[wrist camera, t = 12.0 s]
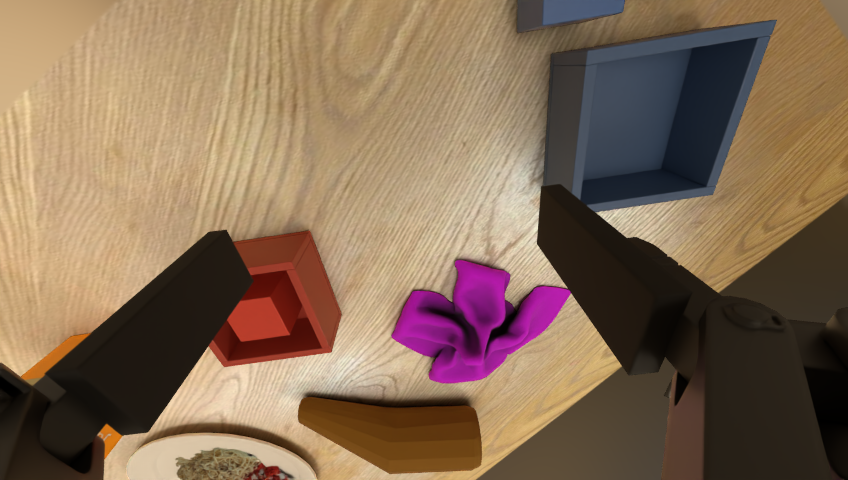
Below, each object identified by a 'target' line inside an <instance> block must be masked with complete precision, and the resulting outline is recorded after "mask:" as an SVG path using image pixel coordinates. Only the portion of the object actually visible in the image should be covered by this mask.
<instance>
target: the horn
mask: <svg viewBox="0 0 848 480" xmlns="http://www.w3.org/2000/svg"><path fill="white" fill-rule="evenodd" d="M298 420H299V422H300V423H301V424H303V425H304V426H306V427H308V428H310V429H312V430H313V431H315V432H317V433H319V434H320V435H322V436H324V437H326V438H327V439H329V440H331V441H333V442H334V443H336V444H338V445H340V446H342V447H343V448H345V449H347V450H349V451H350V452H352V453H354V454H356V455H357V456H359V457H361V458H363V459H365V460H366V461H368V462H370V463H372V464H373V465H375V466H377V467H379V468H380V469H382V470H384V471H386V472H387V473H389V474H399V473H422V472H445V471H468V470H473V469H475V468H477V467H479V466H480V465H481V460H482V446H481V434H480V427H479V422H478V417H477V414H476V411H475V409H474V408H472V407H469V406H438V407H407V408H392V407H380V406H373V405H366V404H359V403H351V402H344V401H337V400H330V399H323V398H316V397H306V398H303V399H302V400H301V403H300V405H299V409H298Z"/></svg>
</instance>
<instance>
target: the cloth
mask: <svg viewBox="0 0 848 480" xmlns="http://www.w3.org/2000/svg"><path fill="white" fill-rule="evenodd" d="M455 267H456V268H457V270H458V279H457V282H456V286H455V289H454V292H453V303H452V302H450V301H448V300H447V299H446V298H445V297H444V296H443V295H441V294H439V293H435V292H431V291H413V292H412V294H411V296H410V297H409V299H408V301H407V302H406V304H405V306H404V308H403V311H402V314H401V316H400V318H399V320H398V322H397V325H396V327H395V330H394V332H393V334H392V335H391V336H392V338H393V339H395V340H396V341H397V342H399V343H401V344H403V345H404V346H406V347H408V348H410V349H412V350H414V351H416V352H418V353H420V354H422V355H425V356H429V357H435V358H436V360H435V362H434V363H433V364H432V369H431V371H430V372H429V379H430V380H433V381H436V382H440V383H459V382H468V381H475V380H480V379H483V378H485V377H487V376H488V375H489V374H490V373H491V372H493V371H494V370H495V369H496V368H498V367H499V366H500V365H501V364H502V363H503V362H504V360H505V359H506V357H507V354H511V353H513V352H514V351H516V350H518V349H519V348H521V347H522V346H523V345H525V344H526V343H528V342H529V341H531V340H532V339H534V338H536V337H537V336H538V335H540V334H541V333H542V332H543V331H544V330H545V329H546V328H547V327H548V326H549V325H550V324H551V323H552V321H553V320H554V319H555V317H556V316H557V314H558V313H559V311H560V310H561V308H562V306H563V305H564V303H565V302H566V300H567V298H568V297H569V295H570V294H571V292H570V290H569V289H563V288H558V287H548V286H541V287H536V288H535V289H534V291H533V292H532V293H531V294H530V295H529V296H528V297H527V298H526V299H525V300H524V301H523V302H522V303H521V305H520V308H519V310H518V312H517V313H516V312H515V310H514V308H513V305H512V304H511V303H509V302H507V301H505V296H504V293H505V291H506V288H507V286H508V283H509V281H510V274H509V273H506V272H505V271H503V270H497V269H493V268H489V267H486V266H482V265H478V264H475V263H471V262H468V261H463V260H457V261H456V262H455Z"/></svg>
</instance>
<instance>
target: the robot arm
mask: <svg viewBox="0 0 848 480" xmlns="http://www.w3.org/2000/svg"><path fill="white" fill-rule="evenodd" d="M537 245H538V246H539V247H540V249H541V250H542V252H543V253H544V255H545V256H546V257H547V259H548V260H549V262H550V263H551V265H552V266H553V268H554V269H555V270H556V272H557V273H558V275H559V276H560V278H561V279H562V280H563V282H564V283H565V285H566V286H567V288H568V289H569V290H570V292H571V293H572V295H573V296H574V298H575V299H576V301H577V302H578V303H579V305H580V306H581V308H582V309H583V311H584V312H585V313H586V315H587V316H588V318H589V319H590V321H591V322H592V323H593V325H594V326H595V328H596V329H597V331H598V332H599V333H600V335H601V336H602V338H603V339H604V341H605V342H606V344H607V345H608V346H609V348H610V349H611V351H612V352H613V354H614V355H615V356H616V358H617V359H618V361H619V362H620V364H621V365H622V366H623V368H624V369H625V371H626V372H627V374H628V375H637V374H646V373H654V372H658V371H659V369H660V367H661V364H662V362H663V360H664V358H665V357H666V358H667V359H668V361H669V362H670V363H671V364H672V365H673V366H674V367H675V369H676V372H675V374H674V376H673V378H672V380H671V382H670V384H669V386H668V388H667V390H666V392H665V395H664V396H666V397H668V398H669V397H670V404H669V413H668V422H667V431H666V441H665V450H664V459H663V468H662V477H661V480H848V307H846V308H841V309H838V310H837V312H836V313H835V314H834V316H833V317H832V318H831V319H830V321H829V322H828V323H827V324H826V323H816V322H806V321H797V320H787V319H786V318H784V317H783V316H782V315H780V314H779V313H778V312H777V311H775V310H773V309H771V308H769V307H767V306H765V305H763V304H761V303H757V302H754V301H751V300H748V299H745V298H738V297H732V296H721V295H720V294H719V293H717V292H716V291H715V290H713V289H712V288H711V287H709V286H708V285H707V284H705V283H704V282H703V281H701V280H700V279H699V278H697V277H696V276H695V275H693V274H692V273H691V272H689V271H688V270H687V269H685V268H684V267H683V266H681V265H678V263H677V262H676V261H675V260H673V259H672V258H671V257H667V254H666V253H664V252H663V251H662V250H660V249H659V248H658V247H656V246H655V245H653V244H651V243H649V242H646V241H644V240H642V239H639V238H637V237H633V238H626V237H625V236H623V235H622V234H621V233H620V232H619V231H617V230H616V229H615V228H614V227H612V226H611V225H610V224H609V223H608V222H606V221H605V220H604V219H603V218H601V217H600V216H599V215H598V214H597V213H595V212H594V211H593V210H592V209H590V208H589V207H588V206H587V205H586V204H584V203H583V202H582V201H581V200H579V199H578V198H577V197H576V196H575V195H573V194H572V193H571V192H570V191H568V190H567V189H566V188H565V187H564V186H562V185H561V184H555V185H548V186H541V196H540V209H539V223H538V236H537ZM253 282H254V280H253V278H252V276H251V275H250V273H249V271H248V269H247V267H246V265H245V263H244V262H243V260H242V258H241V256H240V254H239V252H238V250H237V249H236V247H235V245H234V243H233V241H232V239H231V237H230V235H229V234H228V232H227V230H221V231H213V232H208V233H207V234H206V235H205V236H204V237H202V238H201V239H200V240H199V241H198V242H197V243H195V244H194V245H193V246H192V247H191V248H190V249H188V250H187V251H186V252H185V253H184V254H183V255H181V256H180V257H179V258H178V259H177V260H176V261H174V262H173V263H172V264H171V265H170V266H169V267H167V268H166V269H165V270H164V271H163V272H162V273H161V274H159V275H158V276H157V277H156V278H155V279H154V280H152V281H151V282H150V283H149V284H148V285H147V286H145V287H144V288H143V289H142V290H141V291H140V292H138V293H137V294H136V295H135V296H134V297H133V298H131V299H130V300H129V301H128V302H127V303H126V304H124V305H123V306H122V307H121V308H120V309H119V310H117V311H116V312H115V313H114V314H113V315H112V316H110V317H109V318H108V319H107V320H106V321H105V322H103V323H102V324H101V325H100V326H99V327H98V328H97V329H95V330H94V331H93V332H92V333H91V334H90V335H88V336H87V337H86V338H85V339H84V340H83V341H81V342H80V343H79V344H78V345H77V346H76V347H74V348H73V349H72V350H71V351H70V352H69V353H67V354H66V355H65V356H64V357H63V358H62V359H60V360H59V361H58V362H57V363H56V364H55V365H53V366H52V367H51V368H50V369H49V370H48V371H46V372H45V373H44V374H45V375H44V376H43V377H42V378H41V379H40V380H38V381H37V382H36V383H35V384H34V385H33V386H32V385H30V384H29V383H28V382H26V381H25V380H24V379H22V378H21V377H20V376H19V375H17V374H16V373H15V372H13V371H12V370H11V369H9V368H8V367H7V366H5V365H4V364H3V363H0V480H103V476H104V456H105V443H104V440H103V439H102V438H101V437H99V436H98V433H99V432H100V431H101V430H102V429H103V427H104V426H105V425H106V424H108V425H109V426H110V427H111V428H113V429H114V430H115V431H116V432H118V433H119V434H120V435H130V434H138V433H147V432H149V430H150V429H151V427H152V426H153V424H154V423H155V422H156V420H157V419H158V417H159V416H160V415H161V413H162V412H163V410H164V409H165V407H166V406H167V405H168V403H169V402H170V400H171V399H172V397H173V396H174V395H175V393H176V392H177V390H178V389H179V387H180V386H181V385H182V383H183V382H184V380H185V379H186V377H187V376H188V375H189V373H190V372H191V370H192V369H193V367H194V366H195V365H196V363H197V362H198V360H199V359H200V357H201V356H202V355H203V353H204V352H205V350H206V349H207V347H208V346H209V345H210V343H211V342H212V340H213V339H214V337H215V336H216V335H217V333H218V332H219V330H220V329H221V327H222V326H223V325H224V323H225V322H226V320H227V319H228V317H229V316H230V315H231V313H232V312H233V310H234V309H235V307H236V306H237V305H238V303H239V302H240V300H241V299H242V297H243V296H244V295H245V293H246V292H247V290H248V289H249V287H250V286H251V285H252V283H253Z"/></svg>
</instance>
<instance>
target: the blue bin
mask: <svg viewBox="0 0 848 480" xmlns="http://www.w3.org/2000/svg"><path fill="white" fill-rule="evenodd" d="M776 21H777V20H769V21H761V22H753V23H745V24H737V25H729V26H721V27H713V28H705V29H698V30H692V31H686V32H680V33H673V34H667V35H661V36H655V37H649V38H643V39H637V40H631V41H625V42H619V43H613V44H606V45H600V46H594V47H588V48H582V49H576V50H570V51H564V52H558V53H552V54H551V63H550V80H549V96H548V113H547V130H546V146H545V163H544V179H543V186H548V185H555V184H561V185H562V186H564V187H565V188H566V189H567V190H568V191H570V192H571V193H572V194H573V195H575V196H576V197H577V198H578V199H579V200H581V201H582V202H583V203H584V204H586V205H587V206H588V207H589V208H590V209H592V210H593V211H594V212H600V211H606V210H613V209H620V208H627V207H633V206H640V205H647V204H654V203H661V202H667V201H674V200H681V199H688V198H694V197H701V196H708V195H713V193H714V191H715V188H716V186H715V185H717V182H718V179H719V176H720V174H721V171H722V168H723V165H724V163H725V160H726V157H727V155H728V152H729V149H730V146H731V144H732V141H733V138H734V135H735V133H736V130H737V127H738V124H739V122H740V119H741V116H742V113H743V111H744V108H745V105H746V103H747V100H748V97H749V94H750V92H751V89H752V86H753V83H754V81H755V78H756V75H757V72H758V70H759V67H760V64H761V61H762V59H763V56H764V53H765V51H766V48H767V45H768V42H769V40H770V36H769V35H772V32H773V30H774V27H775V24H776Z"/></svg>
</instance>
